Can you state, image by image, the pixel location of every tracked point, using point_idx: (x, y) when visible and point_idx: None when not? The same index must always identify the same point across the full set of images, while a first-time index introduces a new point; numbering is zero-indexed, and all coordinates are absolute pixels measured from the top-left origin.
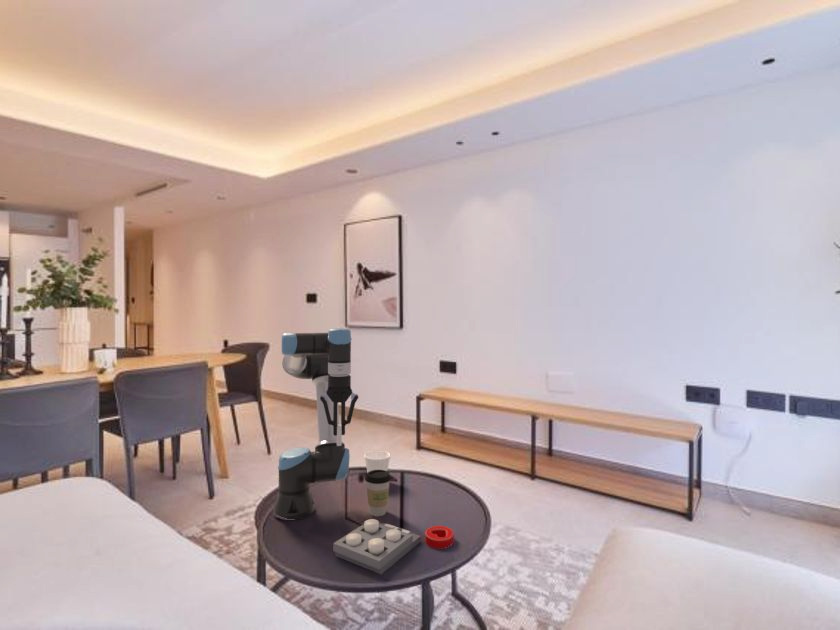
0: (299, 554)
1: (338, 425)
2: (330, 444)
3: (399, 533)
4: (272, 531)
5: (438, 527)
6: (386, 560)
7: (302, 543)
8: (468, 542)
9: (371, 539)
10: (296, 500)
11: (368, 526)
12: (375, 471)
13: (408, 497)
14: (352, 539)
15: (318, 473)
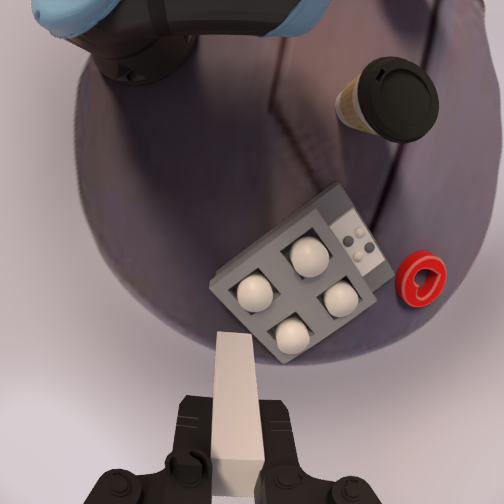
0: (144, 243)
1: (226, 479)
2: None
3: (353, 307)
4: (89, 128)
5: (434, 264)
6: None
7: (150, 200)
8: (449, 292)
9: (287, 330)
10: (129, 64)
11: (299, 273)
12: (403, 69)
13: (437, 70)
14: (250, 305)
15: (183, 33)
